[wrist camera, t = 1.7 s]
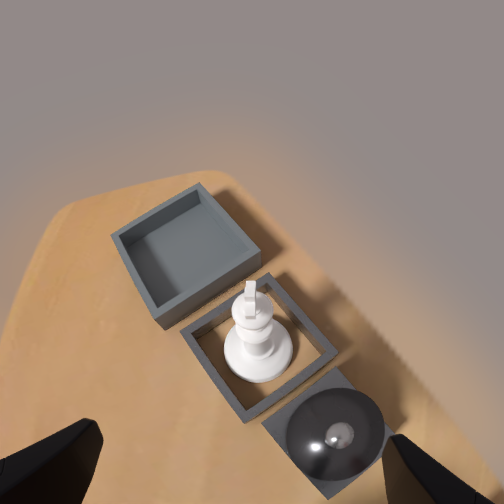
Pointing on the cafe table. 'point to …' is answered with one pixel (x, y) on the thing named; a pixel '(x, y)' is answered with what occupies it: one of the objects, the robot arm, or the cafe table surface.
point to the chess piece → (256, 339)
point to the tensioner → (308, 404)
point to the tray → (185, 254)
